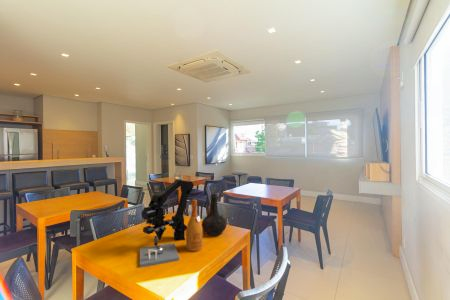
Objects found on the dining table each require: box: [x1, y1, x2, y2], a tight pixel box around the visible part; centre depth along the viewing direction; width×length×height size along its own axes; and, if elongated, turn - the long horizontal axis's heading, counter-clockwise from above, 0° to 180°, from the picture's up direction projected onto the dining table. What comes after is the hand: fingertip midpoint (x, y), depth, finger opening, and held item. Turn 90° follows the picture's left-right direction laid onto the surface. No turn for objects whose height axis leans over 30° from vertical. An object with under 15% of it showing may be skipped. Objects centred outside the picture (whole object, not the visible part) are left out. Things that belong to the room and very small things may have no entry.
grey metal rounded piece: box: [147, 235, 163, 254], centre depth 130 cm, size 9×11×6 cm
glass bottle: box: [201, 193, 228, 236], centre depth 161 cm, size 18×18×28 cm
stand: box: [139, 242, 180, 268], centre depth 128 cm, size 20×20×7 cm
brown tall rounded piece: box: [185, 199, 203, 252], centre depth 136 cm, size 10×10×30 cm
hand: (159, 240), depth 137 cm, fingers closed
